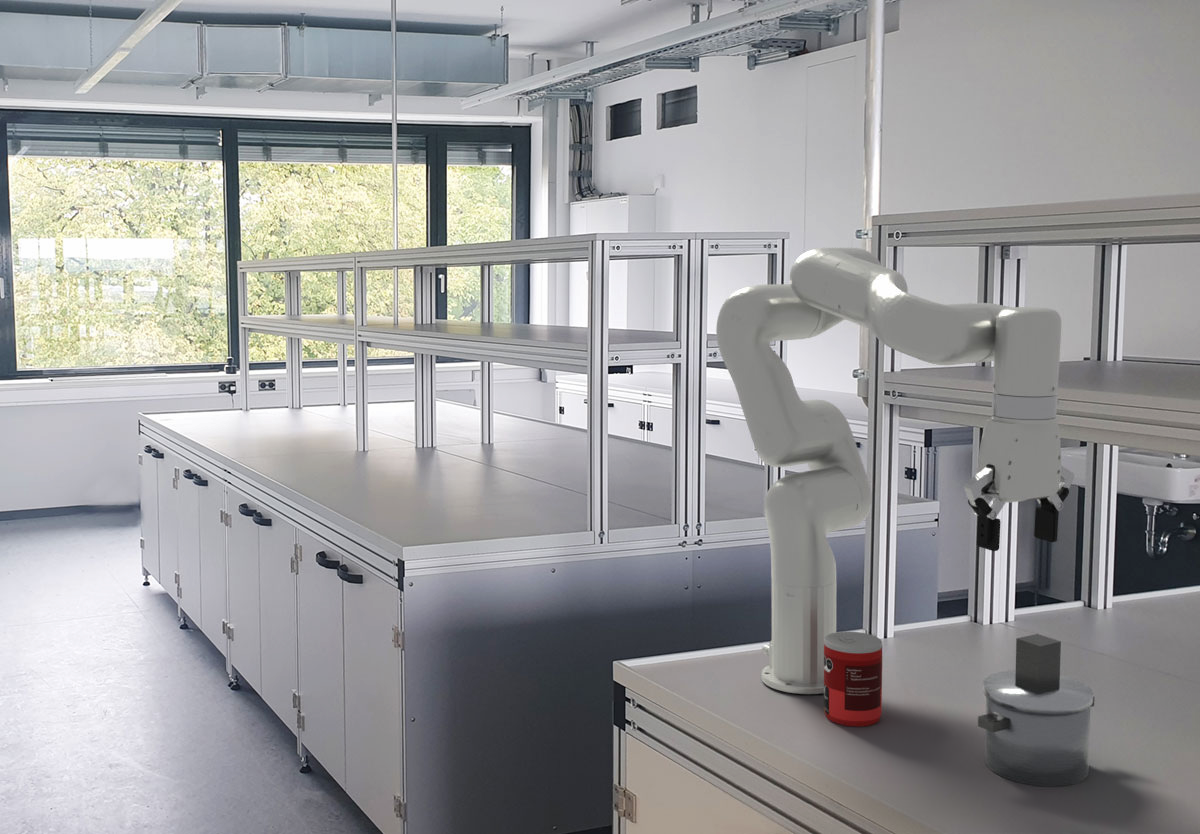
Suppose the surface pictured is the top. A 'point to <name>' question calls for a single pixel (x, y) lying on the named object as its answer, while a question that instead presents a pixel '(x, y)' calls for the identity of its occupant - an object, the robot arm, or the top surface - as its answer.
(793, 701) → the top surface
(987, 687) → the lid
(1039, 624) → the top surface
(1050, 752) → the pot
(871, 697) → the canned food
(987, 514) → the robot arm
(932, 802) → the top surface
